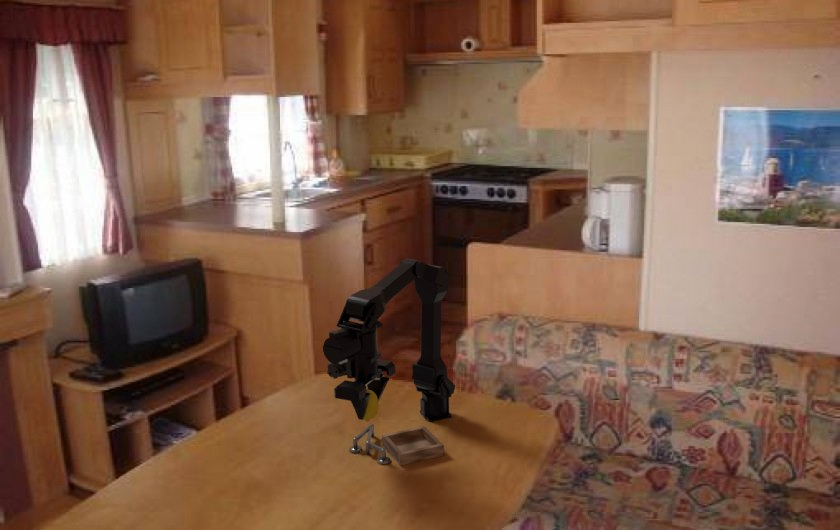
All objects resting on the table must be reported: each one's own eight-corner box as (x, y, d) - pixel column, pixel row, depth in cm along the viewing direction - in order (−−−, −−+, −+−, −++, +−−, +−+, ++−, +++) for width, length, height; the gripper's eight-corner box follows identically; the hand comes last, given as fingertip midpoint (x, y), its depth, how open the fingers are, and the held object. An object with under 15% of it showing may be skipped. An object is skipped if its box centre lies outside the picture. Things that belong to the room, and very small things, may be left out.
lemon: (373, 414, 184) (372, 382, 182) (383, 423, 179) (382, 391, 177) (351, 419, 182) (350, 387, 180) (360, 428, 177) (359, 395, 175)
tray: (424, 435, 191) (424, 425, 190) (444, 455, 181) (443, 444, 180) (382, 445, 186) (381, 435, 186) (400, 465, 177) (399, 455, 176)
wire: (373, 434, 192) (372, 423, 191) (396, 461, 178) (396, 449, 178) (342, 441, 189) (341, 430, 188) (363, 469, 175) (363, 457, 175)
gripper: (353, 332, 188) (356, 393, 192) (311, 359, 171) (315, 424, 175) (395, 338, 183) (397, 400, 187) (356, 366, 167) (359, 433, 171)
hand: (367, 414), depth 180 cm, fingers closed on lemon, 5 cm apart
